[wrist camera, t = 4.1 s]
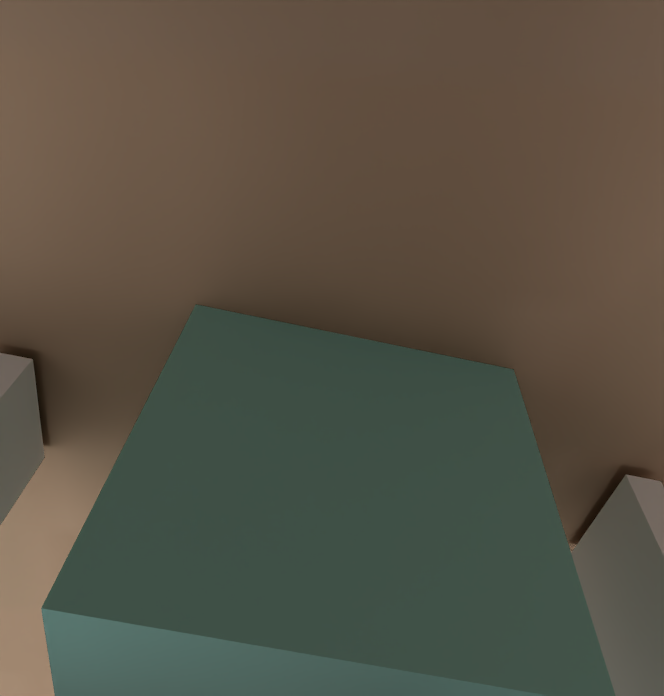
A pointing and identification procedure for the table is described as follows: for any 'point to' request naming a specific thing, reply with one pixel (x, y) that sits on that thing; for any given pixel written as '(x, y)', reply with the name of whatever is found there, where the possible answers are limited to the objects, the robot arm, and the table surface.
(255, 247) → the table surface
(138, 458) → the teal block
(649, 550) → the robot arm
